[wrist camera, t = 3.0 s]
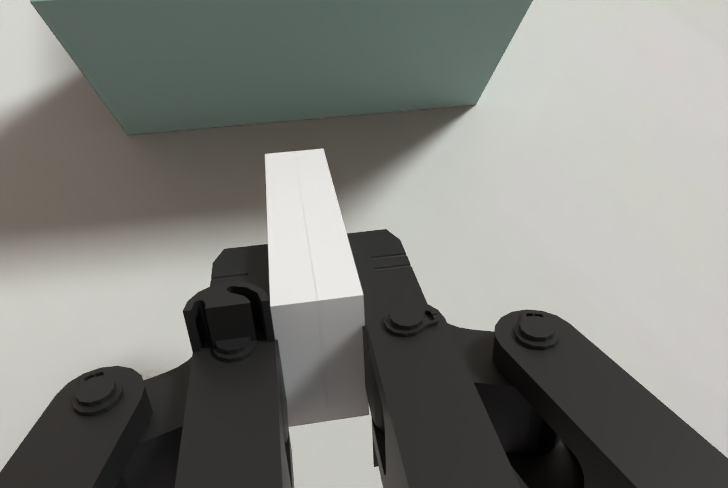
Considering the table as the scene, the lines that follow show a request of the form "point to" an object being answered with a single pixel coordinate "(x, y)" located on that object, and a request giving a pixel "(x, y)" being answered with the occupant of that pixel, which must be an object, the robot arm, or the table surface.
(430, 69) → the muted teal t-block
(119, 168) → the table surface
